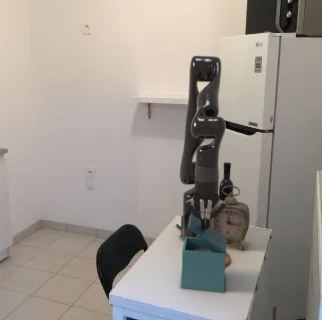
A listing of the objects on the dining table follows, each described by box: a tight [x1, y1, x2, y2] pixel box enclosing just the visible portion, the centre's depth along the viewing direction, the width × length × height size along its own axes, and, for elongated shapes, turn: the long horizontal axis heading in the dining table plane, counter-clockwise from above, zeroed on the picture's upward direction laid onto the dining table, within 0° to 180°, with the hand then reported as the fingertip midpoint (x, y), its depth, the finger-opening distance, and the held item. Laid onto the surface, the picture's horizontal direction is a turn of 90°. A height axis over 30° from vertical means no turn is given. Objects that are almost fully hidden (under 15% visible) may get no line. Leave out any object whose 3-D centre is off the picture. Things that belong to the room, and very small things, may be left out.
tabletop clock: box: [210, 185, 251, 250], centre depth 174 cm, size 14×9×25 cm, turn 65°
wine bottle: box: [218, 161, 234, 200], centre depth 189 cm, size 6×6×30 cm
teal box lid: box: [188, 214, 227, 254], centre depth 145 cm, size 14×12×1 cm
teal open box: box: [181, 237, 227, 293], centre depth 148 cm, size 14×12×13 cm
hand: (205, 228), depth 145 cm, fingers closed
